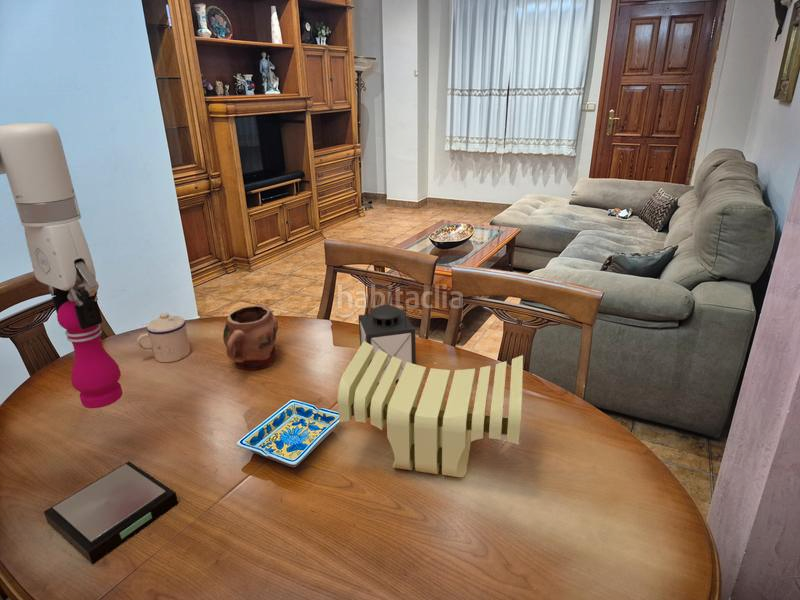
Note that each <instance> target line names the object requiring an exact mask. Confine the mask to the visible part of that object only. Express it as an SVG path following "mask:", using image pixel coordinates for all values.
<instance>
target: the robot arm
mask: <svg viewBox="0 0 800 600" xmlns="http://www.w3.org/2000/svg"><path fill="white" fill-rule="evenodd" d="M0 175H6V179H7V182H8V184H9V187H10V190H11V194H12V197H13V200H14V203H15V207H16V210H17V213H18V217H19V220H20V223H21V226H23V228H24V235H25V241H26V245H27V249H28V253H29V258H30V262H31V265H32V269H33V273H34V276H35V278H36V280H37V281H38V282H40V283H42V284H45V285H46V286H48V292H49V294H50V296H51V298H52V303H53V306H54V309H55V311H56V313H57V312H58V310H59V308H60V306H61V305H63V304H64V303H65V302H67V301H70V300H69V299H68V297H67V296H68V293H69V292H71V293H72V296H73V298H74V300H75V302H76V304H77V305H75V306H74V307H75V311H76V315H77V318H78V322H79V325H80V328H82V329H87V328H90V327H92V326H95V325H98V324H100V325H101V324H102V323H103V319H102V313H101V314H100V311H101V309H100V307H99V303H98V301H99V298H98V296H97V295H98V290H99V287H100V286H99V285H100V284H99V283H98V281H97V280H96V279H97V275H96V269H95V266H94V261H93V258H92V254H91V251H90V248H89V245H88V242H87V239H86V236H85V233H84V231H83V228H82V225H81V223H80V219H81V218H82V216H81V212H80V208H79V204H78V200H77V197H76V193H75V189H74V185H73V181H72V177H71V173H70V169H69V166H68V162H67V157H66V153H65V151H64V146H63V143H62V139H61V136H60V133H59V130H58V129H57V128H56V127H55V126H54V125H53V124H50V123H46V122H23V123H22V122H20V123H18V122H17V123H7V124H1V125H0ZM79 281H81V282H82V283H78V284H76V282H79ZM83 288H84V290H81V289H83ZM79 290H81V292H79ZM79 293H80V294H79ZM99 309H100V310H99Z"/></svg>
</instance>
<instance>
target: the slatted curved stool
mask: <svg viewBox="0 0 800 600" xmlns="http://www.w3.org/2000/svg"><path fill="white" fill-rule="evenodd" d="M373 355H374V346H372V345H370V344H369V343H367V342H365V341H364V342H363V343H362V345H361V346H359V348H358V349H357V351H356V353H355V355H354V356H353V357H352V359H351V360H350V362H349V363H348V365H347V367H346V368H345V370H344V371H343V373H342V374H341V378H340V381H339V384H338V390H337V411H338V422H339V423H344V422H350V421H351V420H352V418H353V417H354V422H357V423H364V424H366V422H367V421H368V418H369V419H370V425H372V426H374V427H376V428H377V429H379V430H380V431H383V428H384V427H385V424H386V438H387V440H388V441H389V444H390V446H391V449H392V452H393V455H394V456H393V457H394V460H393V464H392V467H393V468H394V469H398V470H399V469H400V470H407V471H413V469H414V470H415V472H421V473H426V474H427V473H428V474H435V475H438V474H439V472H440V469H441V474H442V476H448V477H454V478H455V477H456V478H464V477H465V476H466V473H467V469H468V463H469V457H470V449H471V445H472V442H474V441H476V440H481V439H484V435H485V434H484V433H488V439H493V440H499V441H500V440H502V435H505V436H506V442H508V443H511V444H512V443H513V444H514V445H517V446H519V444H520V433H521V421H522V403H523V378H524V377H523V372H524V371H523V369H524V354H522V355H519V356H517V357H514V358H512V359H511V368H510V382H509V383H510V385H509V386H510V387H509V399H508V415H507V417H503V416H504V415H503V413H504V399H505V387H506V375H507V360H505V361H502V362H499V363H495V369H494V376H493V377H494V379H493V387H492V394H491V405H490V412H489V413H490V414H489V415H487V406H488V398H489V397H488V395H489V388H490V379H491V367H492V365H486V366H481V367H480V368H479V373H478V380H477V386H476V392H475V398H474V404H473V409H472V413H470V412H471V404H472V398H473V391H474V386H475V381H476V368H468V369H467V368H466V369H455V370H454V373H453V377H452V381H451V386H450V389H449V393H448V398H447V401H446V405H445V400H446V399H445V398H446V393H447V389H448V386H449V381H450V378H451V370H450V369H440V368H433V367H430V369H429V373H428V375H427V378H426V381H425V384H424V387H423V390H422V393H421V389H422V386H423V383H424V380H425V376H426V374H427V367H426V366H423V365H419V364H416V365H415V364H412V363H409V362H407V363H406V365H405V367H404V370H403V372H402V374H401V377H400V379H399V381H398V383H395V382H396V380H397V377H398V375H399V372H400V370H401V367H402V360H401V359H398V358H396V357H394V356H392V358H391V360H390V362H389V364H388V366H387V368H386V370H385V372H384V374H383V377H382V379H381V381H380V383H379V385H378V382H379V379H380V377H381V374H382V372H383V370H384V368H385V365H386V363H387V361H388V354H387V353H385V352H383V351H381V350H379V349H378V351H377V352H376V354H375V356H374V358H373V359H372V357H373ZM371 359H372V361H371ZM370 361H371V363H370ZM369 363H370V365H369ZM368 365H369V367H368ZM367 367H368V368H367ZM366 369H367V370H366ZM365 371H366V372H365ZM377 385H378V386H377ZM395 385H396V386H395ZM420 393H421V396H420ZM419 396H420V397H419ZM419 398H420V399H419ZM418 400H419V401H418ZM444 405H445V408H444ZM443 409H444V410H443Z"/></svg>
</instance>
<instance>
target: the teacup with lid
mask: <svg viewBox="0 0 800 600" xmlns="http://www.w3.org/2000/svg"><path fill="white" fill-rule="evenodd" d="M186 324H187V322H186V320H185V318H184V317H182V316H180V315H169V313H168V312H162V313H160V314H159V317H157V318H156V319H153V320H151V321H150V322H149V323H148V324H147V326H146V331H147V332H146V333H141V334H140V335H139V336H138V337H137V338H136V345H137V347H138V349H140V350H141V351H142V352H145V353H151V352H153V357H154V359H155V361H157V362H159V363H173V362H177V361H181V360H183V359H185V358H186V357H188V356H189V355H190V353H191V346H190V341H189V337H188V332H187V327H186ZM148 337H149V339H150V344H151V347H144V346H143V345H142V344H141V340H142V339H144V338H148Z"/></svg>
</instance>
